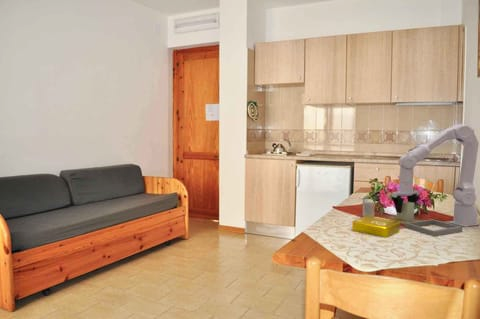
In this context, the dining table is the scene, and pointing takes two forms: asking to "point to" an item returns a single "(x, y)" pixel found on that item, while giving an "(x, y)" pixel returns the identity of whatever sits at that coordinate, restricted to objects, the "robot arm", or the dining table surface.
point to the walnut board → (402, 220)
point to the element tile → (376, 226)
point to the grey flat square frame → (449, 229)
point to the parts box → (406, 211)
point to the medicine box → (368, 207)
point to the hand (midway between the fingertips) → (404, 211)
